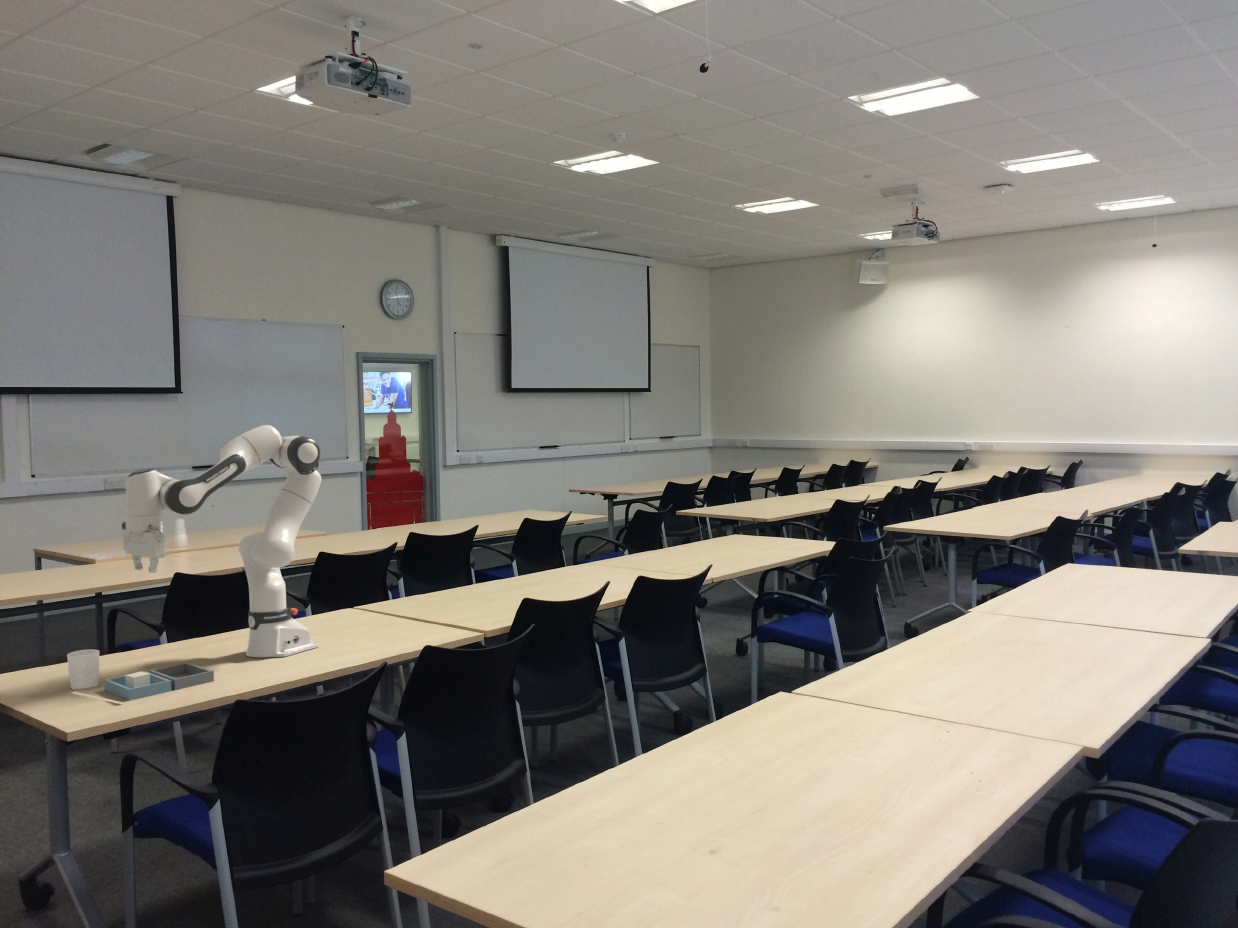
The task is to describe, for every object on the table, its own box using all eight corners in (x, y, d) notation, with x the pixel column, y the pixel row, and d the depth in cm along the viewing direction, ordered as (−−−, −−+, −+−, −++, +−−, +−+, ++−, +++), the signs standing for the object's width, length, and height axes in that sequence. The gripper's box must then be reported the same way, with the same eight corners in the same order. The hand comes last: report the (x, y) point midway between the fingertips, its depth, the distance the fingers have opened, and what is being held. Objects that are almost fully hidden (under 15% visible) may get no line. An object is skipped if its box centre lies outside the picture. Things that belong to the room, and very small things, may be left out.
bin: (145, 683, 262) (145, 671, 262) (171, 692, 252) (171, 680, 252) (105, 692, 254) (104, 679, 254) (129, 702, 244) (129, 689, 243)
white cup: (64, 692, 254) (63, 657, 254) (73, 684, 262) (72, 650, 261) (96, 689, 256) (94, 654, 256) (104, 682, 264) (102, 648, 263)
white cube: (141, 687, 256) (141, 671, 256) (150, 689, 254) (150, 673, 253) (125, 691, 252) (125, 675, 252) (134, 693, 250) (133, 677, 250)
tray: (187, 673, 272) (187, 662, 271) (214, 682, 261) (213, 670, 261) (149, 682, 263) (149, 670, 263) (175, 691, 253) (174, 679, 253)
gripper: (170, 525, 265) (172, 572, 265) (140, 521, 278) (141, 566, 278) (148, 527, 260) (150, 575, 260) (118, 523, 273) (119, 569, 273)
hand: (145, 571), depth 269 cm, fingers open, 8 cm apart
